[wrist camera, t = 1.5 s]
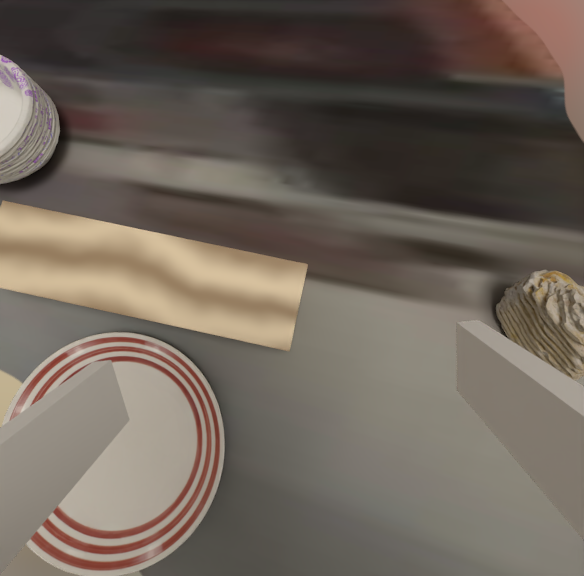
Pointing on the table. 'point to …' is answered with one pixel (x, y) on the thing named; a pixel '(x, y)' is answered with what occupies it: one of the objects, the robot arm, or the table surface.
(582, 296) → the fossil tooth
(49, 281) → the long wooden block
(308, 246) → the table surface
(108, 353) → the dinner plate
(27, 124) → the paper bowls
